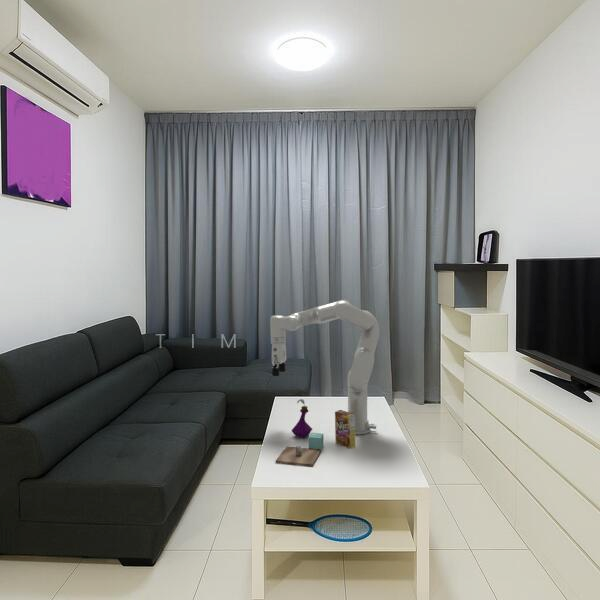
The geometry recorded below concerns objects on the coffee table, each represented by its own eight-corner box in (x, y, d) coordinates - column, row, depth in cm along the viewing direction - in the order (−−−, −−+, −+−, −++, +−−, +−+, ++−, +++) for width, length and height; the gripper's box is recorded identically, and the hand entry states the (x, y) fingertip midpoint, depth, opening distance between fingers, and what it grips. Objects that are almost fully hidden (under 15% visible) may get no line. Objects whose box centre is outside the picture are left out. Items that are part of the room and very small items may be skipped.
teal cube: (323, 446, 209) (323, 433, 208) (320, 451, 203) (320, 437, 203) (311, 445, 210) (311, 432, 210) (308, 450, 205) (308, 436, 204)
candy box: (334, 443, 212) (334, 411, 211) (340, 441, 215) (340, 409, 214) (349, 448, 206) (349, 415, 205) (355, 446, 209) (355, 413, 208)
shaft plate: (321, 451, 203) (321, 441, 203) (312, 466, 188) (312, 456, 187) (286, 448, 207) (286, 438, 207) (275, 463, 192) (275, 452, 191)
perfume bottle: (312, 435, 223) (312, 398, 222) (304, 440, 217) (303, 402, 215) (300, 432, 227) (299, 396, 226) (291, 437, 221) (290, 400, 220)
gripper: (279, 343, 221) (280, 378, 222) (290, 337, 238) (291, 370, 239) (265, 342, 223) (265, 377, 224) (276, 337, 240) (277, 369, 241)
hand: (279, 373), depth 232 cm, fingers open, 9 cm apart
